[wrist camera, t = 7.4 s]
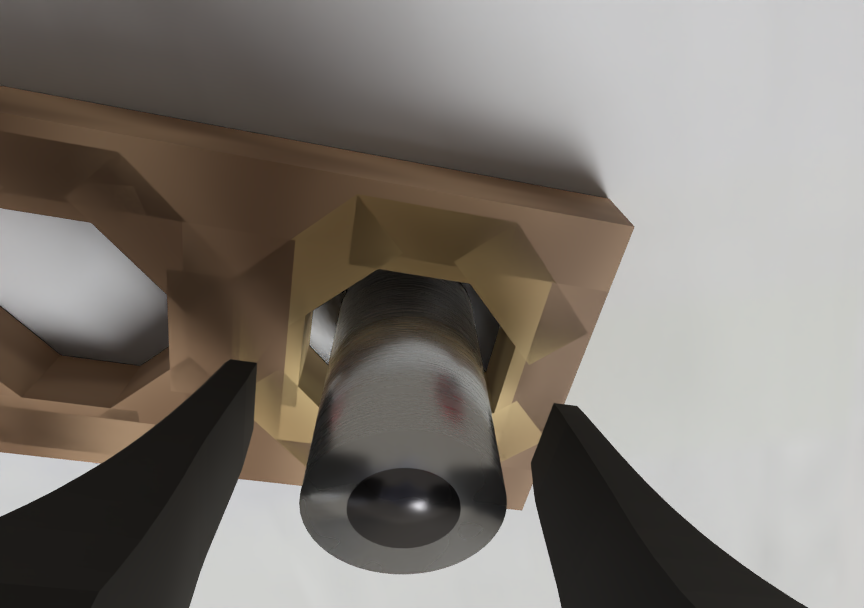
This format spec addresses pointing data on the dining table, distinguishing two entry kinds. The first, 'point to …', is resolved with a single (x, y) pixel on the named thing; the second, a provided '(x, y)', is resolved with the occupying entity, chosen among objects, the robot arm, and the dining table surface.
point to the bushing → (404, 432)
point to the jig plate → (285, 273)
